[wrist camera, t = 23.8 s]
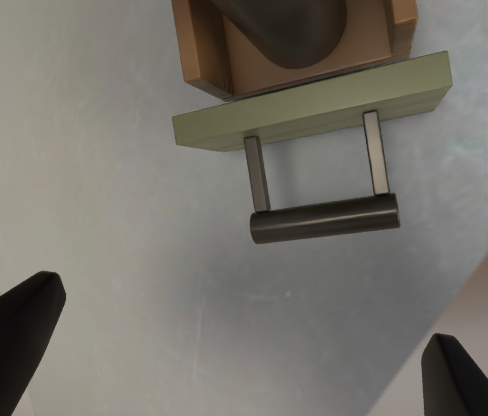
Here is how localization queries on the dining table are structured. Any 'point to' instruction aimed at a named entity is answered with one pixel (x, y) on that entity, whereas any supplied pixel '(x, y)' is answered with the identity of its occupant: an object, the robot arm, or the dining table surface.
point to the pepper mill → (289, 27)
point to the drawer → (307, 104)
